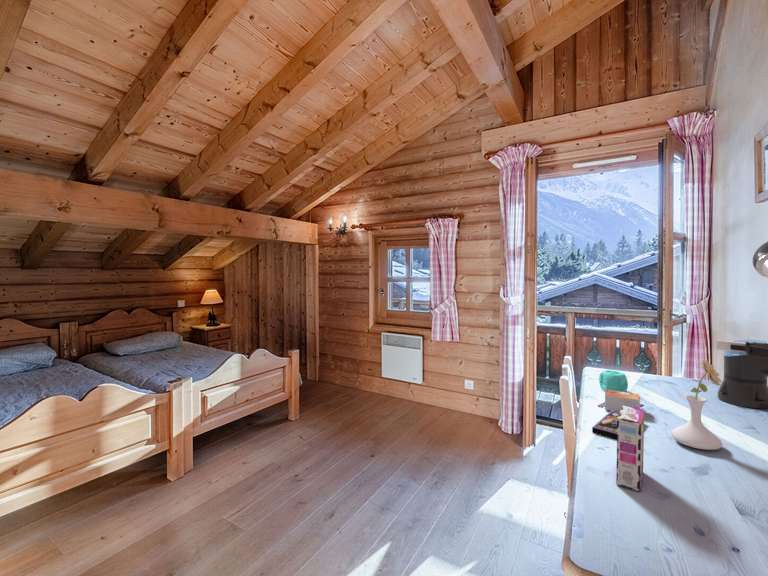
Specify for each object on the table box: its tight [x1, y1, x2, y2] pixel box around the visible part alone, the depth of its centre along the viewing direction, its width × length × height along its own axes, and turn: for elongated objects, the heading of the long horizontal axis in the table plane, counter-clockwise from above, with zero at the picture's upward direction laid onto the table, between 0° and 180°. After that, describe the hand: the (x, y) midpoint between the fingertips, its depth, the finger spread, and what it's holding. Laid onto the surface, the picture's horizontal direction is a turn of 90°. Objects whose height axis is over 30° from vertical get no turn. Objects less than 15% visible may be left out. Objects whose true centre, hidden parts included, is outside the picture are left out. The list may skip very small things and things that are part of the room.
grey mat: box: [597, 401, 644, 408], centre depth 135 cm, size 14×10×1 cm
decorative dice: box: [598, 369, 629, 392], centre depth 151 cm, size 8×8×8 cm
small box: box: [604, 390, 641, 413], centre depth 131 cm, size 8×6×10 cm
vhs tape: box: [591, 411, 619, 440], centre depth 116 cm, size 10×2×19 cm
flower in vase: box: [670, 358, 724, 451], centre depth 104 cm, size 13×11×25 cm
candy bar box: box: [615, 406, 645, 493], centre depth 87 cm, size 11×5×16 cm, turn 141°
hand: (717, 344), depth 112 cm, fingers closed
